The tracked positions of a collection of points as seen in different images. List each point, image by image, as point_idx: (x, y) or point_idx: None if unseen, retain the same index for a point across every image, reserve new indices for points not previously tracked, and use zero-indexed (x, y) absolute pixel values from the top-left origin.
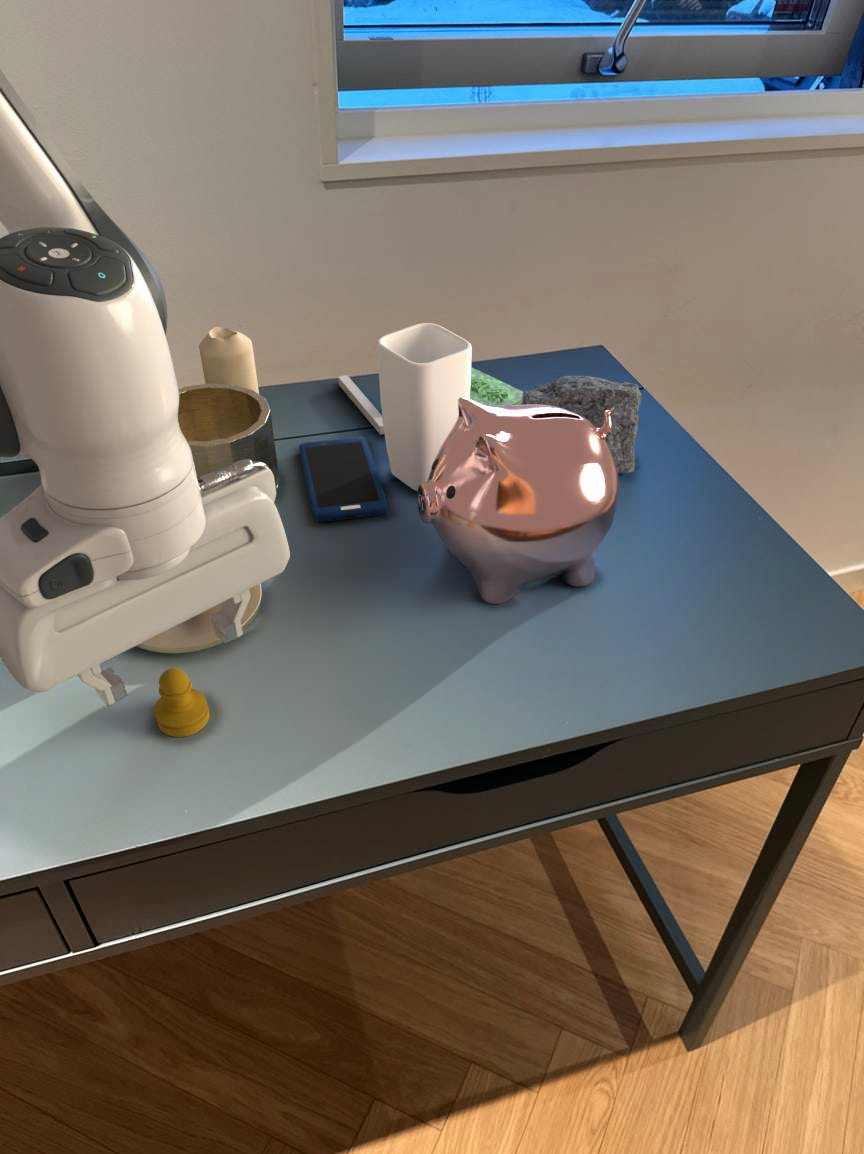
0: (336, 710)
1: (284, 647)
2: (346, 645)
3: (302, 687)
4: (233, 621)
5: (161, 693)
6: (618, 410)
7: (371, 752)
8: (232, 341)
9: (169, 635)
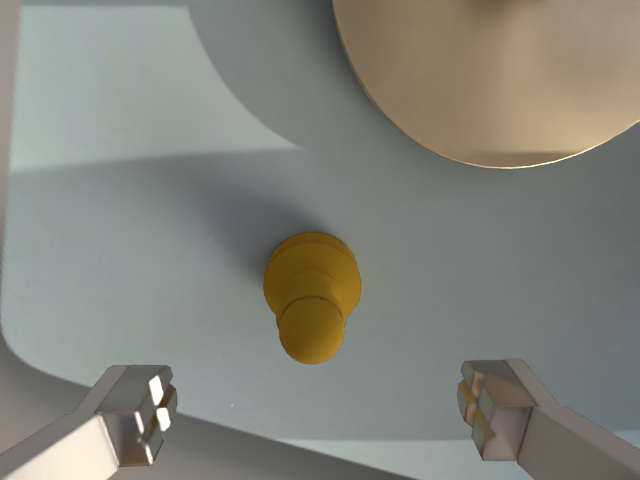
0: None
1: (556, 237)
2: (626, 301)
3: (497, 331)
4: (523, 467)
5: (279, 319)
6: None
7: (466, 458)
8: None
9: (416, 75)
